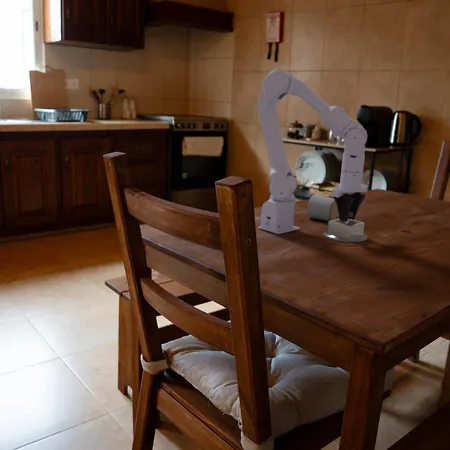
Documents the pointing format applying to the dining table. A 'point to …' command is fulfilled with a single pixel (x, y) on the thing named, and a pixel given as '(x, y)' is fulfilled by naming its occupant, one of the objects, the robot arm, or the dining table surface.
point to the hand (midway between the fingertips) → (346, 219)
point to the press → (345, 231)
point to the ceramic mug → (322, 208)
